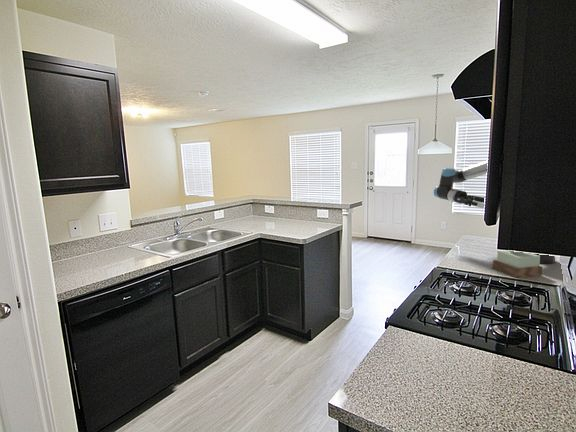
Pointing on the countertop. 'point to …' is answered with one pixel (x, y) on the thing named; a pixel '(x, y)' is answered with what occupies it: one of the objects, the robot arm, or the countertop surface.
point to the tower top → (518, 259)
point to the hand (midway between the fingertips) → (491, 204)
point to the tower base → (517, 270)
